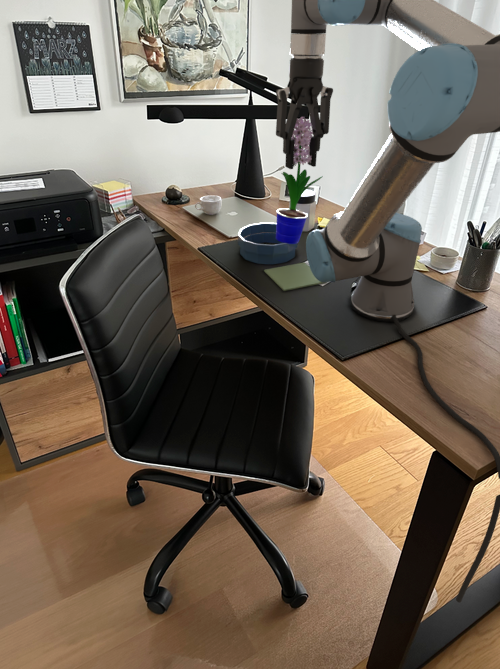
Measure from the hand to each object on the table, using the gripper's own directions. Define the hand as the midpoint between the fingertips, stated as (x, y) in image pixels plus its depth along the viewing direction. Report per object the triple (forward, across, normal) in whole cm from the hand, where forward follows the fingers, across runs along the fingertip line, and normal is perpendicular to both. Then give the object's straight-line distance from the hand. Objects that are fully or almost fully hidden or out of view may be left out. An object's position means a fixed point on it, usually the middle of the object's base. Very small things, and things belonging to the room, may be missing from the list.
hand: (300, 166), depth 116 cm
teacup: (+30, +6, -59) cm, 66 cm away
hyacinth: (+19, +2, 0) cm, 19 cm away
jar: (+30, -20, -33) cm, 48 cm away
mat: (+30, 0, 0) cm, 30 cm away
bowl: (+30, 0, -18) cm, 35 cm away
